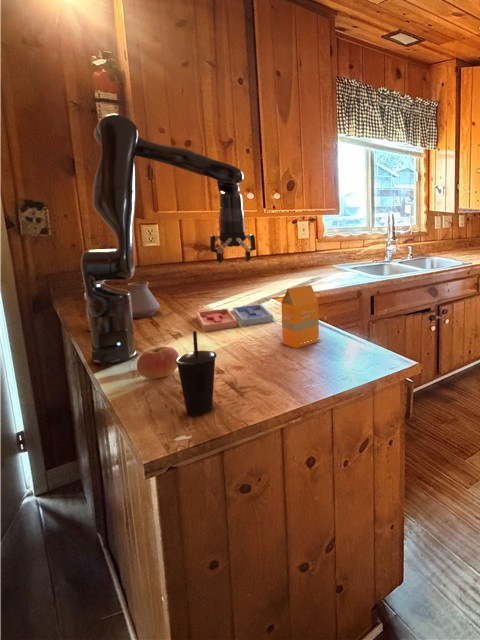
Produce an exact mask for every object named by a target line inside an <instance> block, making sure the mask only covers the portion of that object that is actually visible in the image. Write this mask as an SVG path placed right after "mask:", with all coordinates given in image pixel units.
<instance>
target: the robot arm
mask: <svg viewBox="0 0 480 640" xmlns="http://www.w3.org/2000/svg"><path fill="white" fill-rule="evenodd" d="M93 137H94V140H95V141H96V143H97V144H98V145H100V158H99V162H98V166H97V169H96V173H95V176H94V182H93V187H92V207H93V209H94V211H95V212H96V213H97V215H98V216H99V218H101V219H102V220H103V222H104V223H105V224H106V225H107V226H108V227H109V228H110V230H111V231H112V233H113V234H114V237H115V238H116V239H115V240H116V242H117V248H101V249H99V248H97V249H87V250H85V251H84V252H83V253H82V255H81V258H80V269H81V275H82V280H83V282H84V284H83V286H84V292H85V293H86V298H87V303H88V312H89V322H90V330H89V331H90V339H91V348H92V350H91V358H92V361H93V363H94V364H97V365H100V366H101V367H102V368H103V367H106V365H108V364H115V363H121V362H126V361H130V360H131V359H133V358H134V357H136V356H137V349H136V339H135V338H136V337H135V327H134V317H133V314H132V302H131V294H130V292H128V291H126V290H127V289H124V290H122V289H123V288H118V287H114V286H111V285H109V284H107V283H106V282H109V281H110V282H111V281H126V280H128V281H129V280H131V279H132V278H133V277H134V274H135V271H136V251H135V233H134V232H135V231H134V229H135V211H136V191H137V190H136V170H135V169H136V168H135V156H136V157H140V158H143V159H148V160H151V161H155V162H159V163H163V164H166V165H169V166H172V167H176V168H178V169H182V170H184V171H187V172H190V173H193V174H195V175H199V176H202V177H207V178H208V177H209V178H210V179H214V180H216V184H217V188H218V189H217V190H218V193H219V217H218V218H219V231H220V234H219V235H214V234H211V235H210V236H209V251H210V252H211V253H215V255H216V256H215V257H216V261H217V262H218V263H219V264H223V255H222V252H223V251H224V250H225V249H226V248H227V247H229V248H231V247H242V248H243V249H244V259H245V262H249V261H250V260H251V258H252V257H251V252H253V251H255V250H256V249H257V246H256V237H255V235H254V234H246V233H245V214H244V209H243V208H244V207H243V196H242V193H240V186H239V184H241V183H242V182H243V180H244V173H243V171H242V170H241V169H240V168H239V167H238V166H235V165H232V164H229V163H226V162H223V161H219V160H217V159H213V158H211V157H209V156H206V155H204V154H202V153H199V152H196V151H193V150H191V149H187V148H183V147H179V146H172V145H167V144H161V143H158V142H153V141H151V140H147V139H145V138H143V137H140V136H139V129H138V127H137V125H136V124H135V122H134V121H133V120H131V118H129V117H128V116H125V115H124V114H119V113H110V114H107V115H105V116H103V117H101V118H100V119H99V120H98V122H97V124H96V126H95V128H94V131H93ZM218 240H220V241H221V243H220V245H219V246H218V247H217V248H216V242H218ZM245 240H248V241H249V244H250V246H248V245H246V243H245ZM117 288H118V289H117ZM85 293H84V294H85Z"/></svg>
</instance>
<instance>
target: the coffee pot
mask: <svg viewBox="0 0 480 640" xmlns="http://www.w3.org/2000/svg"><path fill="white" fill-rule="evenodd" d="M149 284H150V282H149V281H132V282H128V283H127V286H128V287H129V290H128V289H124V288H121V289H122V290H126V291H128V292H130V294H131V302H132V314H133V318H145V317H149V316H152V315H154V314H155V313H156V312H157V311H158V310H159V309H160V304H159V302H158V301H157V299H156V297H155V296H154V295H153V293H152V292H151V290H150V289H149V288H148V286H149ZM83 286H84V281H83V282H82V284H81V286H80V287H81V288H83ZM116 288H117V289H119V288H118V287H116Z"/></svg>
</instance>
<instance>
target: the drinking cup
mask: <svg viewBox="0 0 480 640" xmlns="http://www.w3.org/2000/svg"><path fill="white" fill-rule="evenodd" d="M197 333H198V331H197V330H193V331H192V339H193V351H190V352H187V353H185V354H183V355H179V358H177V359H176V361H175V363H176V364H177V365H178V366H177V371H178V375H179V380H180V385H181V390H182V395H183V400H184V405H185V411H186V415H187V416H188V417H201V416H203V415H207V414H209V413H210V412H211V411H212V410H213V404H214V403H213V402H214V388H215V387H214V386H215V368H216V367H215V366H216V358H217V357H218V355H217V353H216V352H215V351H210V350H198V349H199V347H198V334H197Z"/></svg>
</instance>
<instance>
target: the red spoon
mask: <svg viewBox="0 0 480 640" xmlns="http://www.w3.org/2000/svg"><path fill="white" fill-rule="evenodd" d="M220 318H222V314H218V313H216V314H209V315H207V316H206V319H207V320H213V322H214V323H220V322H222V320H221V319H220Z"/></svg>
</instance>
